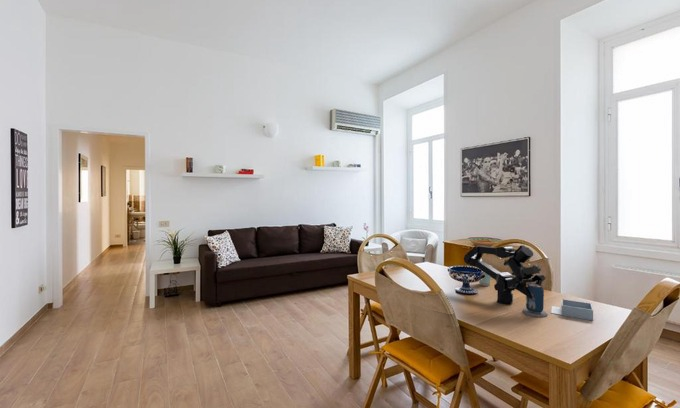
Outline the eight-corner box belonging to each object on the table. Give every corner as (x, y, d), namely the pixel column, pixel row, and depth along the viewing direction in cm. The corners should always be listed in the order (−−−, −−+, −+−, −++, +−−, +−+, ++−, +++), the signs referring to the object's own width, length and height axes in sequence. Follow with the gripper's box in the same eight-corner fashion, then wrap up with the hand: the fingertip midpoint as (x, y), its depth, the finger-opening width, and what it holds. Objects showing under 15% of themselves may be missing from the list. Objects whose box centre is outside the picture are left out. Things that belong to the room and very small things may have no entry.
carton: (551, 313, 152) (551, 303, 152) (552, 304, 165) (552, 295, 165) (593, 320, 144) (593, 310, 144) (590, 310, 156) (590, 301, 156)
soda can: (541, 309, 155) (541, 283, 154) (545, 314, 148) (545, 287, 148) (524, 307, 157) (525, 282, 156) (527, 312, 150) (528, 286, 150)
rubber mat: (521, 314, 151) (521, 313, 151) (523, 308, 159) (523, 307, 159) (547, 318, 145) (547, 317, 145) (547, 312, 154) (547, 311, 154)
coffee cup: (495, 286, 199) (495, 266, 199) (484, 287, 196) (484, 267, 196) (484, 282, 207) (484, 263, 207) (473, 283, 204) (474, 264, 204)
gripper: (513, 260, 152) (533, 290, 142) (542, 257, 159) (564, 286, 149) (499, 273, 160) (517, 302, 150) (527, 270, 166) (547, 298, 156)
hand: (537, 297), depth 151 cm, fingers closed on soda can, 7 cm apart
